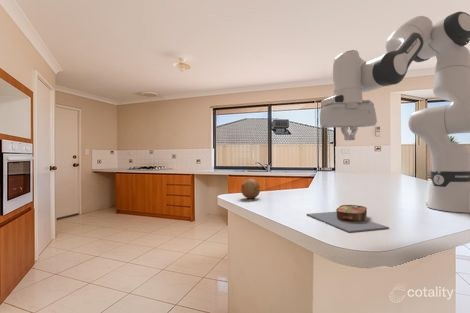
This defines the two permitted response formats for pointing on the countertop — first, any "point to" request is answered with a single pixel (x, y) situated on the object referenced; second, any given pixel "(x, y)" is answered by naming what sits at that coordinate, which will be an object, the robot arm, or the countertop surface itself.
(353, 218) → the tin
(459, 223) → the countertop surface
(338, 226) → the rubber mat
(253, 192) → the onion
